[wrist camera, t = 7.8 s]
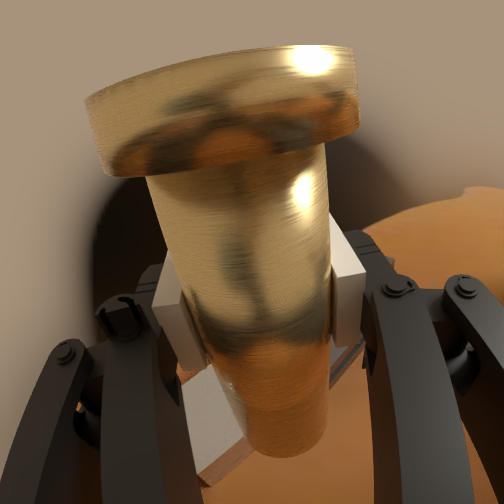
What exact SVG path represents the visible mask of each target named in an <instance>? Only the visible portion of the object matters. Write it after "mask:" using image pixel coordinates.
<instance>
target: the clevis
mask: <svg viewBox="0 0 504 504" xmlns="http://www.w3.org/2000/svg"><path fill="white" fill-rule="evenodd" d="M385 257H386V259H387V260H388V261H389V263H390V264H391V266H392V267H393V269H394V262H395V259H393V258H390V257H387V256H385ZM365 344H366V342H365V340H364V337H363V335H362V333H361V335H360V343H359V344H354V345H350V346H345V347H341V348H336V347H335V344H334V341H333V338H332V335H331V349H330V376H329V390H330V389H331V388H332V386H333V385H334V384H335V383H336V382H337V381H338V379H339V378H340V377H341V376H342V375H343V373H344V372H345V371H346V370H347V369H348V367H349V366H350V365H351V364H352V363H353V361H354V360H355V359H356V358H357V356H358V355H359V354H360V353H361V351H362V350H363V349H364V347H365ZM207 358H208V361H209V363H210V365H208V366H207V369H203V370H202V371H201V372H199V373H198V374H197V375H195V376H194V377H193V378H191V379H190V380H189V381H188V382H186V383H185V384H184V385H182V393H183V400H184V406H185V413H186V419H187V425H188V430H189V436H190V441H191V447H192V452H193V457H194V462H195V467H196V472H197V475H198V476H199V477H200V478H202V479H203V480H204V481H205V482H206V483H207V484H208V485H209V486H211V487H212V486H213V485H214V484H215V483H217V482H218V481H219V480H220V479H222V478H223V477H224V476H225V475H226V474H228V473H229V472H230V471H231V470H232V469H234V468H235V467H236V466H237V465H238V464H239V463H241V462H242V461H243V460H244V459H245V458H246V457H247V456H249V455H250V454H251V453H252V452H253V451H254V450H255V449H253V448H252V447H251V446H250V445H249V444H248V442H247V441H246V439H245V438H244V435H243V433H242V431H241V429H240V427H239V425H238V423H237V421H236V419H235V416H234V414H233V412H232V410H231V408H230V405H229V403H228V401H227V399H226V397H225V394H224V392H223V390H222V387H221V385H220V383H219V381H218V378H217V376H216V374H215V371H214V369H213V367H212V364H211V362H210V359H209V357H208V355H207Z"/></svg>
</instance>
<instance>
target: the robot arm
mask: <svg viewBox="0 0 504 504" xmlns="http://www.w3.org/2000/svg"><path fill="white" fill-rule="evenodd" d="M329 222H330V249H331V335H332V338H333V341H334V344H335V347H336V348H341V347H345V346H350V345H354V344H359V343H360V335H361V333H362V335H363V337H364V340H365V342H366V344H365V351H364V357H363V363H362V369H365V367H366V373H367V382H368V391H369V402H370V413H371V426H372V442H373V463H374V504H474V494H473V486H472V478H471V471H470V464H469V458H468V453H467V447H466V442H465V437H464V432H463V427H462V423H461V420H462V422H463V424H464V426H465V428H466V430H467V432H468V434H469V436H470V438H471V440H472V442H473V444H474V446H475V448H476V451H477V453H478V455H479V457H480V459H481V462H482V464H483V466H484V469H485V471H486V473H487V476H488V478H489V480H490V483H491V485H492V488H493V490H494V493H495V495H496V498H497V500H498V503H499V504H504V307H503V306H502V304H501V303H500V302H499V301H498V300H497V299H496V298H495V297H494V295H493V294H492V293H491V292H490V291H489V290H488V289H487V288H486V287H485V286H484V284H483V283H481V282H480V281H479V280H478V279H476V278H474V277H471V276H469V275H462V274H461V275H454V276H452V277H450V278H449V279H448V280H447V282H446V284H445V288H444V289H421V288H419V287H418V285H417V284H416V283H415V281H413V280H412V279H410V278H409V277H407V276H404V275H401V274H397V273H396V271H395V270H394V269H393V267H392V266H391V264H390V263H389V261H388V260H387V259H386V257H385V256H384V254H383V253H382V252H381V251H380V249H379V248H378V246H377V245H376V243H375V242H374V241H373V239H372V238H371V237H370V236H369V235H368V234H366V233H364V232H363V231H361V230H353V231H347V232H341V230H340V228H339V227H338V225H337V224H336V222H335V221H334V219H333V218H332V216H331V215H330V213H329ZM138 285H139V286H138V287H137V289H136V294H135V295H132V294H120V295H117V296H114V297H112V298H110V299H108V300H107V301H105V302H104V303H102V305H101V306H100V307H99V308H98V309H97V311H96V313H95V317H96V319H97V320H98V322H99V324H100V326H101V327H102V329H103V331H104V332H105V334H106V335H107V337H108V339H107V341H105V342H103V343H101V344H98V345H95V346H92V347H89V348H86V347H85V346H84V344H83V343H82V342H81V341H80V340H79V339H68V340H65V341H63V342H61V343H59V344H58V345H57V346H56V347H55V348H54V349H53V351H52V352H51V354H50V355H49V357H48V360H47V361H46V364H45V366H44V368H43V370H42V372H41V374H40V376H39V378H38V381H37V383H36V386H35V388H34V390H33V392H32V395H31V397H30V399H29V401H28V404H27V406H26V409H25V411H24V414H23V416H22V419H21V422H20V424H19V427H18V429H17V432H16V435H15V438H14V440H13V443H12V446H11V449H10V452H9V455H8V458H7V461H6V464H5V468H4V471H3V474H2V478H1V481H0V504H204V503H203V499H202V495H201V490H200V486H199V481H198V477H197V472H196V467H195V462H194V457H193V452H192V447H191V441H190V436H189V430H188V425H187V419H186V413H185V406H184V400H183V393H182V386H181V382H180V379H179V377H178V375H177V373H176V369H177V362H178V363H179V365H180V366H181V368H182V370H183V371H192V370H202V369H207V352H206V350H205V347H204V345H203V342H202V340H201V337H200V335H199V332H198V330H197V327H196V325H195V322H194V319H193V317H192V314H191V312H190V309H189V306H188V304H187V301H186V298H185V296H184V293H183V290H182V287H181V285H180V282H179V279H178V276H177V273H176V271H175V268H174V265H173V262H172V259H171V256H170V253H169V250H168V252H167V256H166V259H165V262H164V264H157V265H151V266H149V267H148V269H147V270H146V271H145V272H144V273H143V274H142V276H141V278H140V281H139V284H138ZM468 342H469V343H470V344H471V346H472V347H473V348H472V347H471V346H470V344H469V343H468ZM78 402H80V403H81V404H82V406H81V408H80V410H79V411H77V410H76V408H77V405H78Z"/></svg>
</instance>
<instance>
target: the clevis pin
mask: <svg viewBox="0 0 504 504" xmlns="http://www.w3.org/2000/svg"><path fill="white" fill-rule="evenodd" d="M84 101H85V105H86V109H87V113H88V117H89V121H90V125H91V129H92V133H93V136H94V140H95V144H96V147H97V150H98V154H99V157H100V161H101V164H102V167H103V170H104V172H105V173H106V174H107V175H110V176H115V177H144V176H145V177H146V180H147V184H148V187H149V190H150V194H151V197H152V200H153V204H154V207H155V210H156V213H157V217H158V220H159V223H160V226H161V229H162V232H163V235H164V238H165V241H166V244H167V247H168V250H169V253H170V256H171V259H172V262H173V265H174V268H175V271H176V273H177V276H178V279H179V282H180V285H181V287H182V290H183V293H184V296H185V298H186V301H187V304H188V306H189V309H190V312H191V314H192V317H193V319H194V322H195V325H196V327H197V330H198V332H199V335H200V337H201V340H202V342H203V345H204V347H205V350H206V352H207V355H208V357H209V359H210V362H211V364H212V367H213V369H214V371H215V374H216V376H217V378H218V381H219V383H220V385H221V387H222V390H223V392H224V394H225V397H226V399H227V401H228V403H229V405H230V408H231V410H232V412H233V414H234V416H235V419H236V421H237V423H238V425H239V427H240V429H241V431H242V433H243V435H244V438H245V439H246V441H247V442H248V444H249V445H250V446H251V447H252V448H253V449H255V450H256V451H258V452H259V453H261V454H263V455H266V456H270V457H275V458H288V457H293V456H297V455H300V454H302V453H304V452H306V451H308V450H309V449H311V448H312V447H313V446H314V445H315V444H316V443H317V442H318V441H319V440H320V439H321V437H322V435H323V433H324V431H325V428H326V424H327V410H328V395H329V376H330V349H331V249H330V222H329V204H328V186H327V172H326V159H325V148H324V143H325V142H328V141H331V140H335V139H337V138H340V137H343V136H345V135H347V134H349V133H352V132H354V131H355V130H356V129H358V128H359V126H360V125H361V119H360V105H359V94H358V84H357V75H356V67H355V60H354V52H353V49H351V48H347V47H338V46H322V45H301V46H279V47H267V48H257V49H249V50H241V51H235V52H228V53H222V54H217V55H211V56H207V57H202V58H197V59H192V60H189V61H184V62H180V63H177V64H172V65H169V66H165V67H162V68H159V69H155V70H152V71H149V72H146V73H143V74H140V75H137V76H134V77H131V78H129V79H126V80H123V81H121V82H118V83H116V84H113V85H111V86H109V87H106V88H104V89H102V90H100V91H98V92H96V93H94V94H92V95H90V96H89V97H87V98H86V99H85V100H84Z"/></svg>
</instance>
